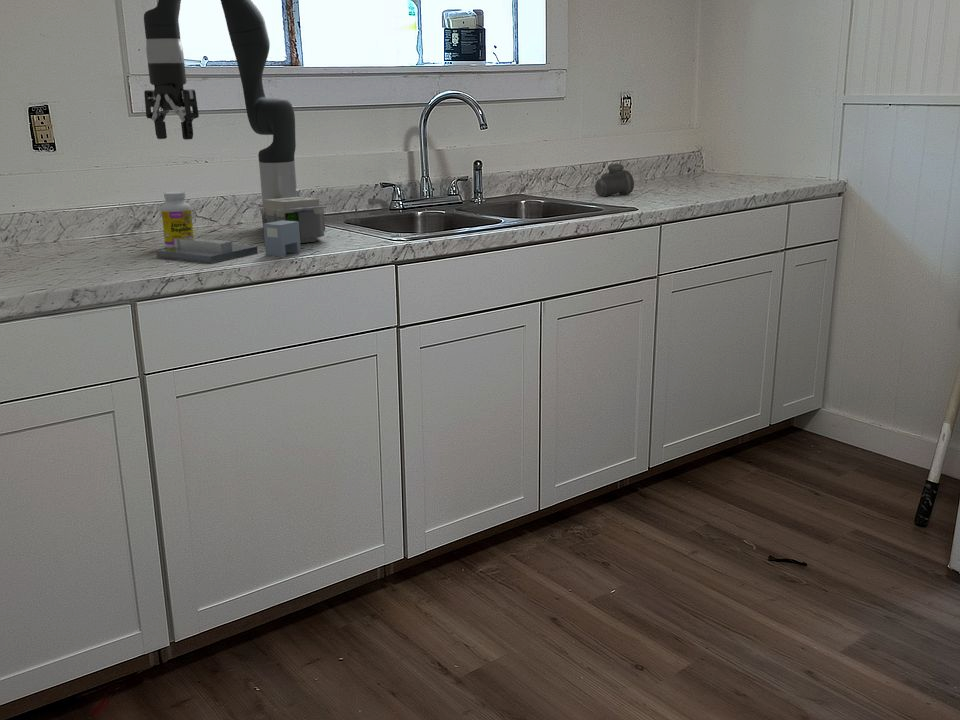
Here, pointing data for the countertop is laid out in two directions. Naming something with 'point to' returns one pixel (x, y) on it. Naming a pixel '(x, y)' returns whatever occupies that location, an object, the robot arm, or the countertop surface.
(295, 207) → the electrical outlet
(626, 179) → the pipe fitting
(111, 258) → the countertop surface
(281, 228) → the block
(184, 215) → the supplement bottle
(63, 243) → the countertop surface
